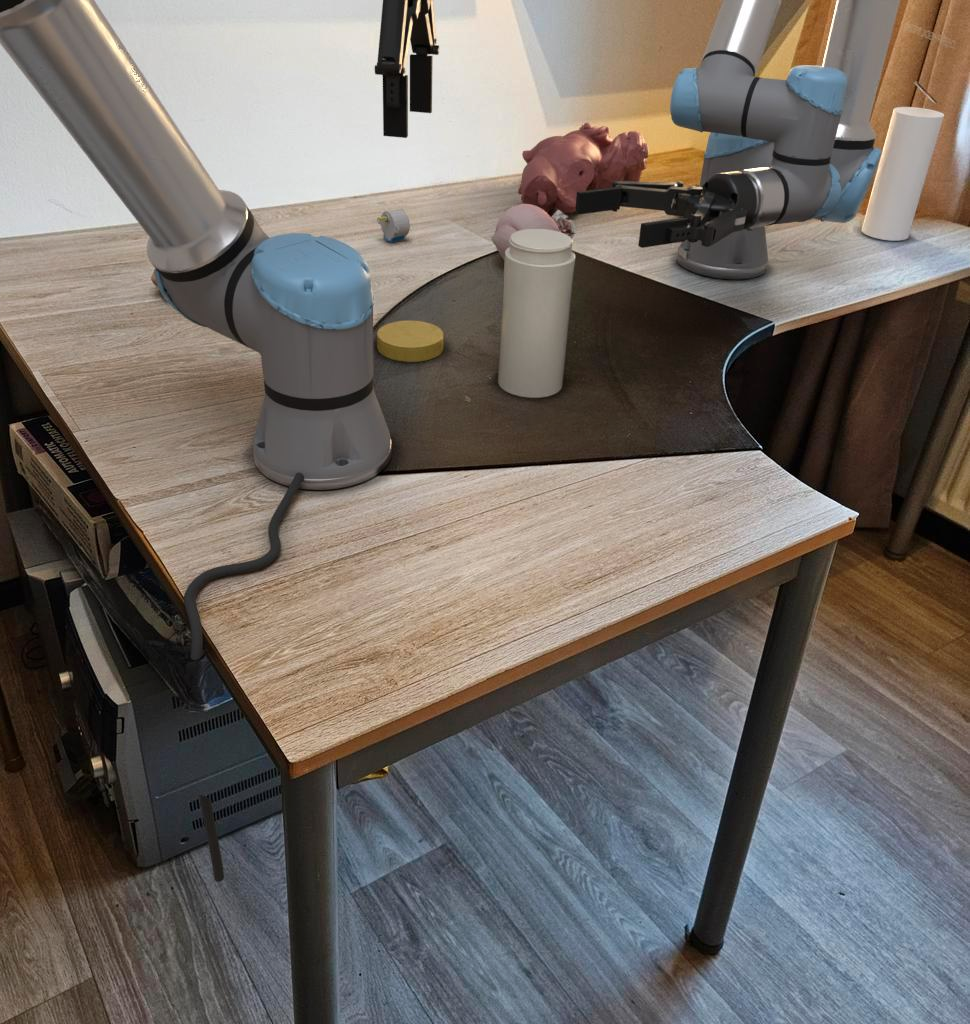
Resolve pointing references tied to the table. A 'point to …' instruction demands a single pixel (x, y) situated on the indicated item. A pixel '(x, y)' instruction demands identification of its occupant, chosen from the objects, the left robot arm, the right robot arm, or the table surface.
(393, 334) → the lid
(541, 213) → the toy
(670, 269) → the table surface
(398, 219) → the electric motor
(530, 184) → the reddish pink figurine
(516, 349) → the jar
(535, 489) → the table surface
